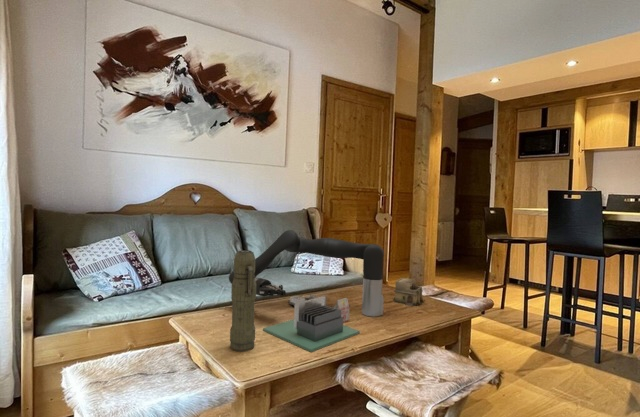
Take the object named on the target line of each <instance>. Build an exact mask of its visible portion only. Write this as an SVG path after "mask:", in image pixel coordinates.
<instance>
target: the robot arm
mask: <svg viewBox="0 0 640 417" xmlns="http://www.w3.org/2000/svg"><path fill="white" fill-rule="evenodd" d="M284 251H286V252H289V253H300V254H301V253H302V254H303V253H304V254H310V255H315V256H322V257H327V258H334V259H350V258H351V259H352V258H353V259H359V260H363V262H362V273H363V275H362V277H363V278H362V297H361V298H362V301H361V314H362V315H363V316H367V317H373V318H374V317H375V318H376V317H381V316H383V315H384V299H385V298H384V295H383V279H384V278H383V277H384V271H383V270H384V256H385V251H384V249H383V247H382V246H380V245H379V244H375V243H358V242H357V243H356V242H351V241H347V240H344V239H343V240H342V239H336V238H332V237H322V238H321V237H320V238H314V239H311V238H310V239H307V238H303V237H299V236H298V233H297V232H296V231H294V230H291V229H288V230H285V231H284V232H282V233H281V235H280V236H278V237H277V238H276V240H275V241H273V243H271V245H269V247H267V249H265V250H264V251H263V252H262V253H261V254H260V255H259V256H257V257H255V273H254V276H255V281H256V296H260V297H263V298H265V297H269V296H270V297H271V296H272V297H273V296H280V297H285V296H286V295H287V293H286V292H287V291H286V290H284V285H283V284H279V285H276V284H273V283H272V282H271V281H270V280H269V279H265V278H262V277H257V276H259V275H260V274H261V273H263V272H264V271H265V270H266V269H267V268H269V266H270V265H271V264H272V263H273V261H274V260H275V259H276V258H277V257H278V255H280V254H281V253H282V252H284ZM228 280H229V283H230V284H231V285H232V283H233V280H234V270H233V271H232V272H230V274H229V275H228Z"/></svg>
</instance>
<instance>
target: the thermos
mask: <svg viewBox="0 0 640 417" xmlns="http://www.w3.org/2000/svg"><path fill="white" fill-rule="evenodd" d="M255 259H256V256H255V253H254V251H252V250H249V249H247V250H246V249H245V250H243V249H242V250H241V249H240V250H238V251H237V252H236V253H235V255H234V259H233V271H234V280H233V283H232V284H231V295H230V296H231V297H230V298H231V301H232V302H231V303H232V304H231V306H232V307H231V308H232V310H231V314H232V317H231V327H230V331H229V341H230V345H229V347H230V350H232V351H234V352H240V353H241V352H242V353H243V352H248V351H251V350H253V349H254V348H255V341H256V326H255V301H256V300H257V295H256V281H255V276H254V273H255Z"/></svg>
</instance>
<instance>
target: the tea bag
mask: <svg viewBox="0 0 640 417" xmlns="http://www.w3.org/2000/svg"><path fill="white" fill-rule="evenodd" d="M333 307H334V309H335V308H338V310H340V309H341V317H343V323H346V322H348V321H350V304H349V302H348V298H347V297H344V298H341V299H337V300H336V301H335V304H334V306H333Z"/></svg>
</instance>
